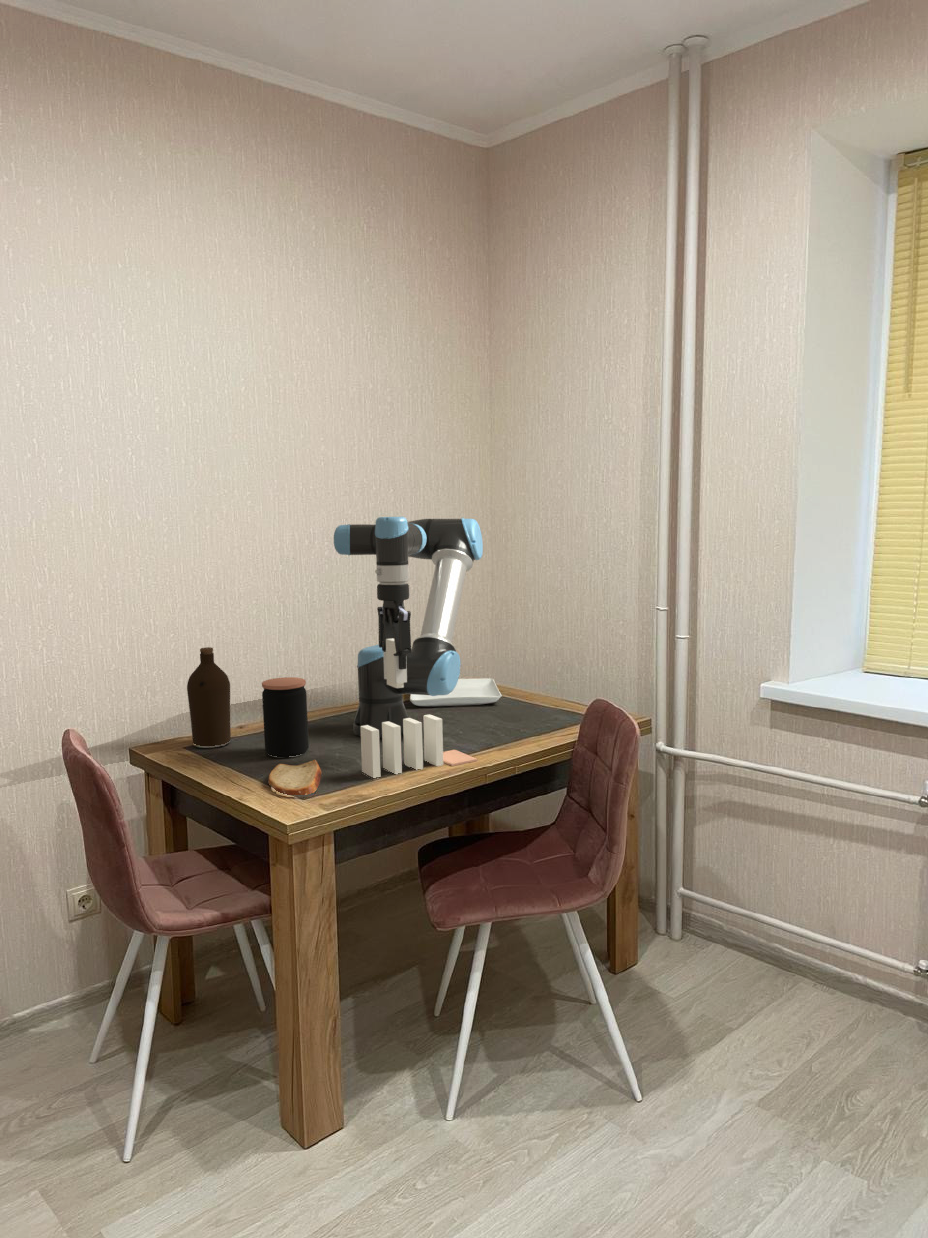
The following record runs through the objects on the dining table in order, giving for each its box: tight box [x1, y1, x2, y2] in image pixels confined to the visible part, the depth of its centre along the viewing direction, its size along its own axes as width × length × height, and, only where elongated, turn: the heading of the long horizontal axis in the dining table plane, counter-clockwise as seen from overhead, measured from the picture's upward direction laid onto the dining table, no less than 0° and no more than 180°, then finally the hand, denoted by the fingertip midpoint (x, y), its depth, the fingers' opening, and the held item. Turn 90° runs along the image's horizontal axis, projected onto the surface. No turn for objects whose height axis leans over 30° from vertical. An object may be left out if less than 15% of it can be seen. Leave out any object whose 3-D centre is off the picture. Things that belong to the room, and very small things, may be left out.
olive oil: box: [186, 646, 232, 746], centre depth 240 cm, size 11×11×25 cm
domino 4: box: [403, 717, 424, 771], centre depth 218 cm, size 2×6×11 cm, turn 33°
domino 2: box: [386, 638, 404, 688], centre depth 223 cm, size 2×6×11 cm, turn 29°
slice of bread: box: [267, 759, 322, 795], centre depth 208 cm, size 18×18×4 cm
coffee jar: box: [261, 676, 310, 757], centre depth 231 cm, size 11×11×18 cm
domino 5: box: [423, 713, 444, 767], centre depth 221 cm, size 2×6×11 cm, turn 33°
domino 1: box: [360, 725, 382, 778], centre depth 212 cm, size 2×6×11 cm, turn 33°
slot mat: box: [443, 749, 478, 767], centre depth 224 cm, size 7×10×1 cm
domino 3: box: [381, 721, 403, 775], centre depth 215 cm, size 2×6×11 cm, turn 33°
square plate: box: [409, 677, 502, 708], centre depth 289 cm, size 27×27×4 cm
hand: (395, 680), depth 223 cm, fingers closed on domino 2, 6 cm apart
